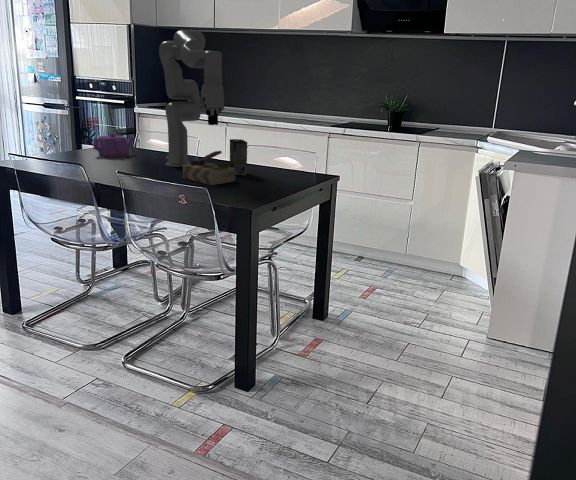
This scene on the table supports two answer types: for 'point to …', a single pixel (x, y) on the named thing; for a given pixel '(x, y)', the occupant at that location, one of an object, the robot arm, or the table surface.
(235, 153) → the coffee box
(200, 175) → the block
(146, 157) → the table surface
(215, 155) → the bar
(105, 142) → the teakettle
